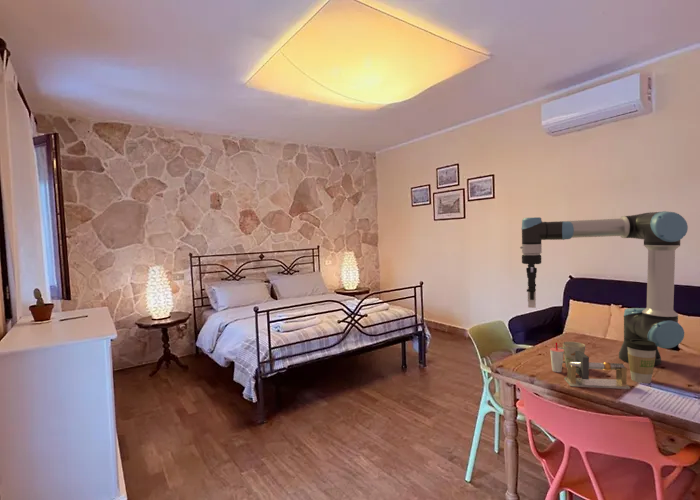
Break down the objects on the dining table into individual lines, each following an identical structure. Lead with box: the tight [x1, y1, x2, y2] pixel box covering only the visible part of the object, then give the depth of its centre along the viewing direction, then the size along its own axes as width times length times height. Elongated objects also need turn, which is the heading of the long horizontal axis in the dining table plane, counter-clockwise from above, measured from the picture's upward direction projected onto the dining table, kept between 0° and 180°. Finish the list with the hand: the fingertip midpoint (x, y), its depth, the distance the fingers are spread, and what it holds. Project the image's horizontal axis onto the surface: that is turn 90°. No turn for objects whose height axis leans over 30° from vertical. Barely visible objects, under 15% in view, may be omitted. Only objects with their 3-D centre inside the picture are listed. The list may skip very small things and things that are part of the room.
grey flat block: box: [575, 351, 590, 380], centre depth 153 cm, size 2×8×8 cm, turn 169°
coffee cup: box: [626, 339, 659, 384], centre depth 155 cm, size 10×10×15 cm
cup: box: [549, 342, 564, 373], centre depth 167 cm, size 5×5×12 cm
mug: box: [558, 341, 586, 368], centre depth 171 cm, size 8×13×10 cm, turn 78°
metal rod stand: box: [563, 361, 631, 390], centre depth 152 cm, size 20×7×8 cm, turn 79°
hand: (531, 304), depth 170 cm, fingers open, 13 cm apart
